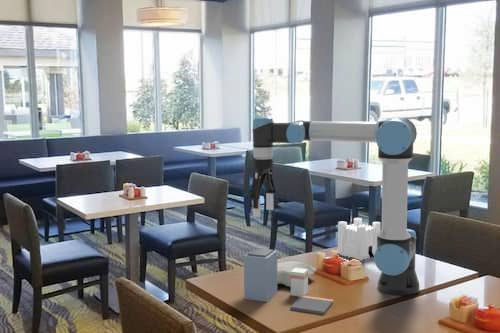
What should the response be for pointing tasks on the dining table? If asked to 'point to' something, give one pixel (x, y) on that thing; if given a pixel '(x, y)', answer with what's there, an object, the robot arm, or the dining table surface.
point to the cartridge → (299, 282)
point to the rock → (286, 269)
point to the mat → (312, 304)
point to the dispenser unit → (260, 274)
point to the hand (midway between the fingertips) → (263, 213)
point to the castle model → (357, 238)
